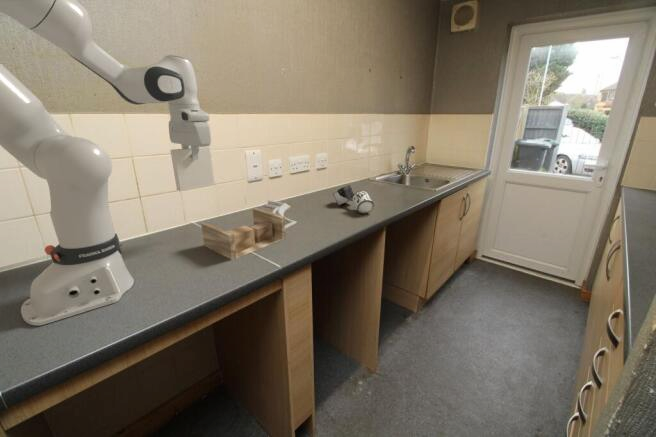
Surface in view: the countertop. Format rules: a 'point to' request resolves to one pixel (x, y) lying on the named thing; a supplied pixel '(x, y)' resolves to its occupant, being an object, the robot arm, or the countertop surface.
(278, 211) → the molding
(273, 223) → the offcut rack
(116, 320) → the countertop surface
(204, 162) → the white square panel
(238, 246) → the oak offcut
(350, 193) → the patterned dumbbell
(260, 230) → the walnut offcut
